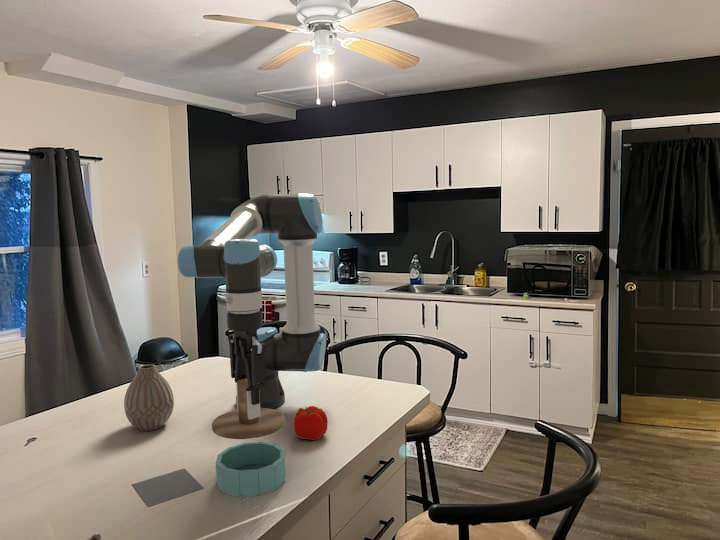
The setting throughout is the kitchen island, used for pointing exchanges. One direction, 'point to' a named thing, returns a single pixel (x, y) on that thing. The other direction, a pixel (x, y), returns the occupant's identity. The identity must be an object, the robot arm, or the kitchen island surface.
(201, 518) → the kitchen island surface
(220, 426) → the lid
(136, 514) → the kitchen island surface
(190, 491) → the mat
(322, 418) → the tomato
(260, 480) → the bowl
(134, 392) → the vase
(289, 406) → the kitchen island surface
